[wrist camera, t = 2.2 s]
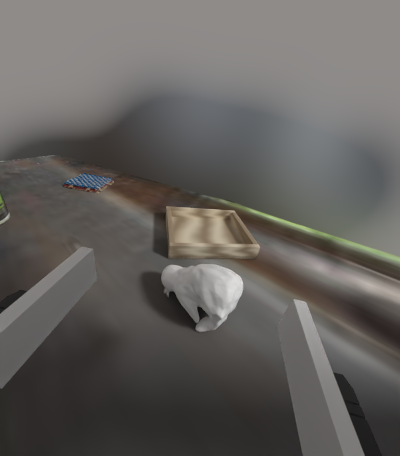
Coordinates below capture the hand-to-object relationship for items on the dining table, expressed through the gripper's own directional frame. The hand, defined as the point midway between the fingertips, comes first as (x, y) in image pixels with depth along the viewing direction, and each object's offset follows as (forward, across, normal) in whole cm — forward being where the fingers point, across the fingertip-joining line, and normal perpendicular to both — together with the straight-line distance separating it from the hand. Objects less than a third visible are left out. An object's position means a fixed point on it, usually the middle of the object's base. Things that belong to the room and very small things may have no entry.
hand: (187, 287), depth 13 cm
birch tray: (+29, 0, -14) cm, 32 cm away
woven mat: (+43, -38, -15) cm, 59 cm away
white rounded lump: (+10, 0, -14) cm, 17 cm away
